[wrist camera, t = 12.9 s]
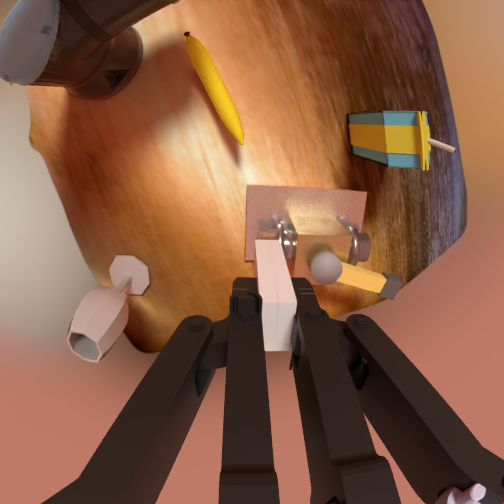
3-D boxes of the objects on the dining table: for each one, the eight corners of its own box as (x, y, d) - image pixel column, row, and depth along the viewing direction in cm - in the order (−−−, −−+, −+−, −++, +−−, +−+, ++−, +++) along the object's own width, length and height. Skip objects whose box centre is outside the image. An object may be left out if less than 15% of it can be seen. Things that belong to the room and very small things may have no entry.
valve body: (245, 257, 50) (245, 286, 41) (247, 183, 45) (247, 198, 36) (353, 259, 51) (373, 286, 42) (364, 190, 45) (390, 206, 37)
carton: (392, 153, 43) (457, 173, 26) (351, 156, 43) (407, 176, 27) (387, 111, 40) (454, 112, 23) (346, 112, 40) (402, 108, 24)
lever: (304, 273, 40) (306, 280, 38) (316, 246, 39) (319, 252, 37) (386, 296, 43) (391, 303, 41) (399, 273, 41) (404, 279, 39)
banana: (234, 147, 42) (232, 150, 37) (184, 47, 35) (175, 36, 29) (251, 139, 42) (252, 141, 36) (201, 39, 35) (194, 27, 29)
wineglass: (147, 298, 54) (111, 377, 34) (108, 284, 52) (60, 354, 33) (155, 261, 50) (112, 337, 31) (113, 247, 49) (55, 312, 30)
